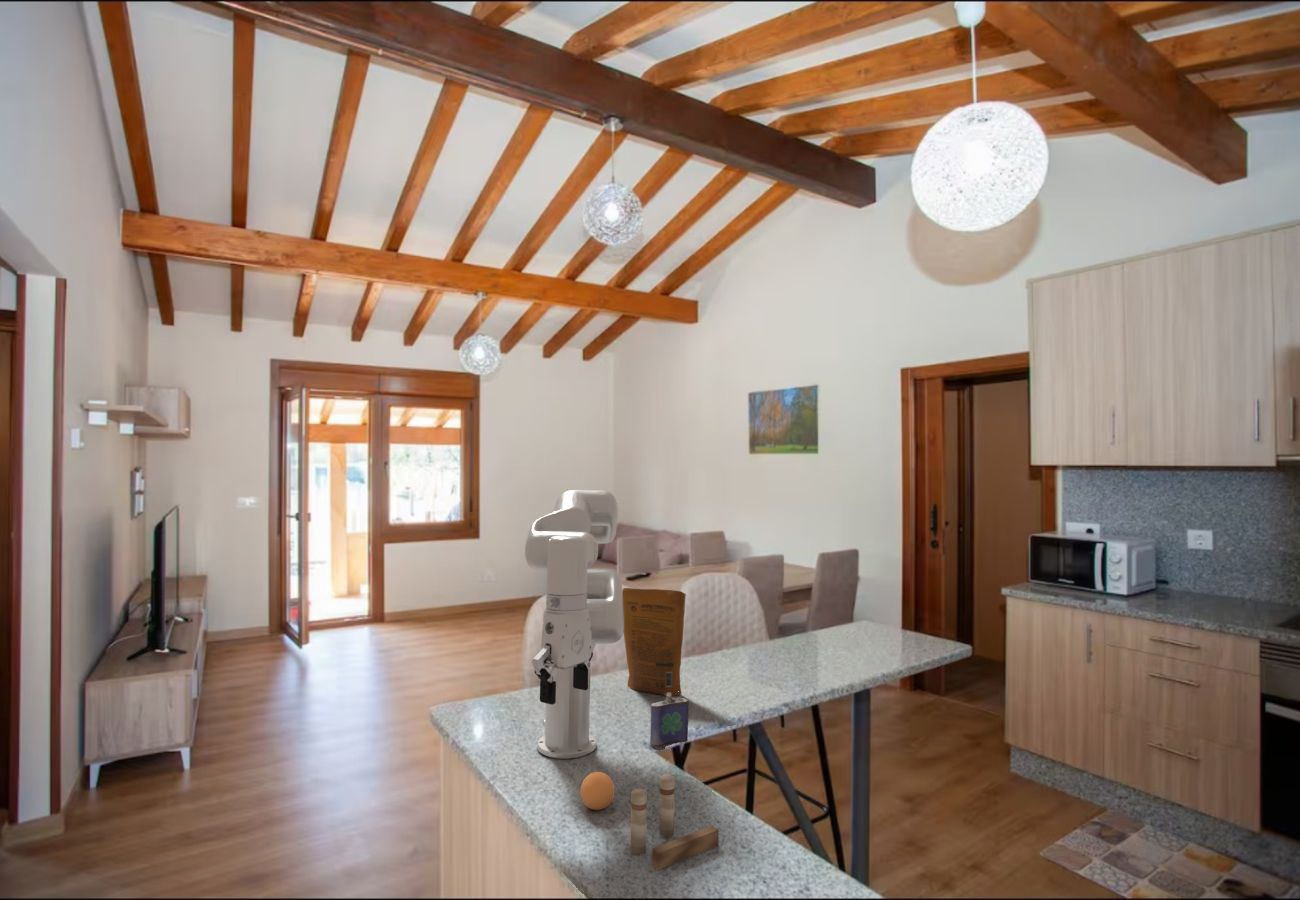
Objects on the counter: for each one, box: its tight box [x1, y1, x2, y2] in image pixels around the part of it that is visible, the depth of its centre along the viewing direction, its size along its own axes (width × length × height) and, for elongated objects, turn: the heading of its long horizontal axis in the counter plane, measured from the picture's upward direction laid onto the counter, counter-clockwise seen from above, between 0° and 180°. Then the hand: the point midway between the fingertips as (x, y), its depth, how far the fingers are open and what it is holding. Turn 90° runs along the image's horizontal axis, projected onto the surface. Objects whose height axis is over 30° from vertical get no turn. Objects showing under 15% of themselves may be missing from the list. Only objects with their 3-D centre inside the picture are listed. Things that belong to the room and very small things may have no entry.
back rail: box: [651, 824, 720, 871], centre depth 104 cm, size 12×2×2 cm, turn 125°
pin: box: [658, 774, 676, 839], centre depth 110 cm, size 2×2×9 cm
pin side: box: [629, 788, 648, 856], centre depth 105 cm, size 2×2×9 cm
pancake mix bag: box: [622, 587, 687, 697], centre depth 182 cm, size 7×19×28 cm, turn 63°
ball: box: [580, 771, 615, 811], centre depth 118 cm, size 6×6×6 cm
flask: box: [649, 692, 690, 748], centre depth 147 cm, size 9×3×11 cm, turn 117°
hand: (564, 695), depth 123 cm, fingers open, 9 cm apart
